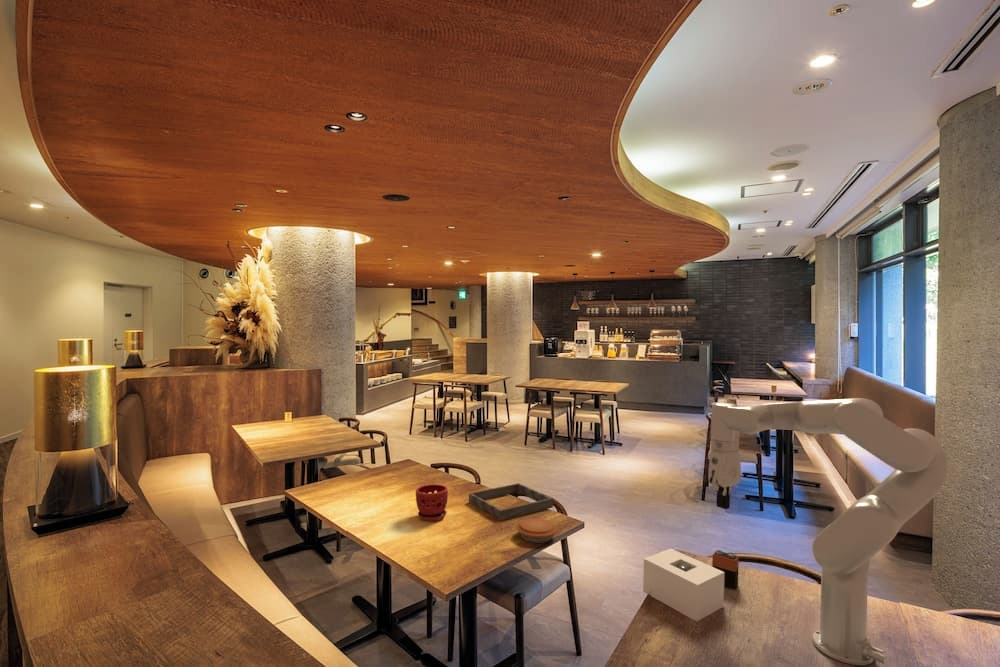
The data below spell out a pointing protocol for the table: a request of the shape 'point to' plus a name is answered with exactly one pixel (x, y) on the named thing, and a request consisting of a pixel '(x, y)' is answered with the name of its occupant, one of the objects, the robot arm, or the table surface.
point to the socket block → (684, 584)
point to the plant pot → (431, 502)
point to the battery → (727, 567)
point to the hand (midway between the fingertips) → (722, 507)
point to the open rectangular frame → (540, 504)
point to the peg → (683, 567)
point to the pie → (536, 530)
